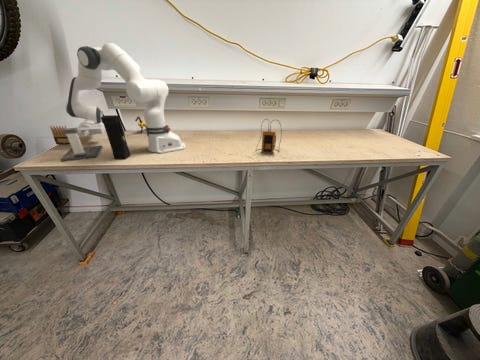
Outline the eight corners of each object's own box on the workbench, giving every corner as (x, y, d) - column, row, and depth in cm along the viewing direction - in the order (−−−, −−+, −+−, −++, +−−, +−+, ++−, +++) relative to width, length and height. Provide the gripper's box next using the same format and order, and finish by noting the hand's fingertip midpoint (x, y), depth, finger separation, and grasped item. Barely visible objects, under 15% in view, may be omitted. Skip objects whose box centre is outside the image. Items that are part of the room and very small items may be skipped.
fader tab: (86, 152, 112) (76, 127, 105) (84, 154, 108) (74, 129, 101) (75, 153, 110) (65, 128, 103) (73, 155, 107) (62, 130, 100)
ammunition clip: (75, 143, 130) (67, 125, 124) (72, 144, 128) (65, 126, 123) (58, 143, 130) (50, 125, 124) (56, 144, 128) (47, 126, 122)
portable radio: (133, 155, 113) (120, 110, 101) (128, 159, 108) (114, 112, 96) (119, 155, 113) (105, 110, 101) (113, 159, 108) (98, 112, 96)
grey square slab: (102, 147, 124) (102, 145, 123) (96, 157, 109) (95, 155, 109) (72, 150, 119) (71, 148, 118) (61, 161, 104) (60, 159, 103)
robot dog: (135, 135, 147) (130, 117, 140) (147, 129, 162) (143, 113, 156) (142, 136, 146) (138, 117, 140) (153, 130, 162) (150, 113, 156)
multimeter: (279, 148, 126) (283, 116, 117) (279, 154, 118) (283, 120, 108) (257, 146, 129) (259, 115, 119) (255, 152, 120) (256, 118, 111)
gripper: (66, 124, 123) (58, 130, 112) (104, 122, 130) (99, 127, 119) (70, 134, 126) (62, 141, 115) (107, 132, 133) (103, 137, 122)
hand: (81, 134), depth 117 cm, fingers closed
